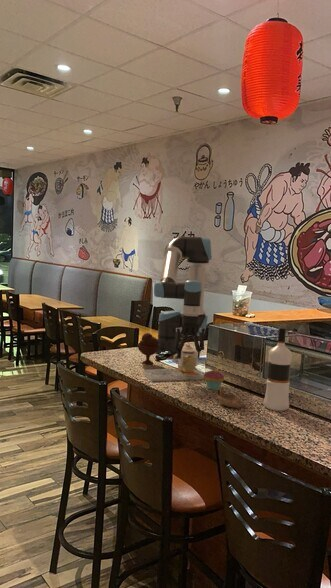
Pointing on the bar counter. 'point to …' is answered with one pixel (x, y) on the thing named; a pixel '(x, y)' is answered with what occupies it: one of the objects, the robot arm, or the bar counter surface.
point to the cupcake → (214, 378)
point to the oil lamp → (228, 399)
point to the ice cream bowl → (148, 347)
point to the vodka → (278, 375)
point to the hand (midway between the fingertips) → (187, 365)
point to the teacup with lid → (185, 353)
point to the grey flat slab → (171, 375)
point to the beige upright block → (188, 364)
